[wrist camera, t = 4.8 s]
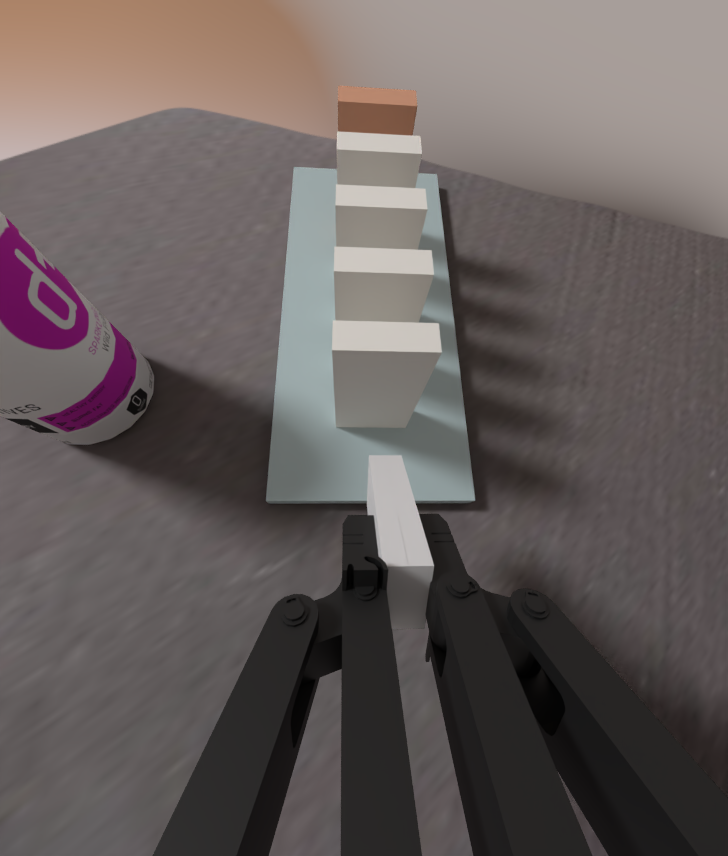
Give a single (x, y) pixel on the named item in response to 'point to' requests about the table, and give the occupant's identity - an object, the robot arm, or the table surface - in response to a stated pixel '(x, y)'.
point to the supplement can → (62, 353)
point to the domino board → (313, 373)
